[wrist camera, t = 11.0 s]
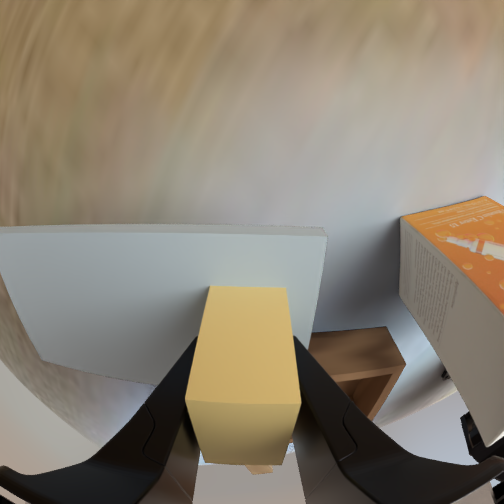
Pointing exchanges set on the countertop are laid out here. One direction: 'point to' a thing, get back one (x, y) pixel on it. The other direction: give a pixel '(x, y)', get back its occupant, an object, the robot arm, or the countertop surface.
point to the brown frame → (360, 364)
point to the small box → (461, 299)
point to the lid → (178, 316)
